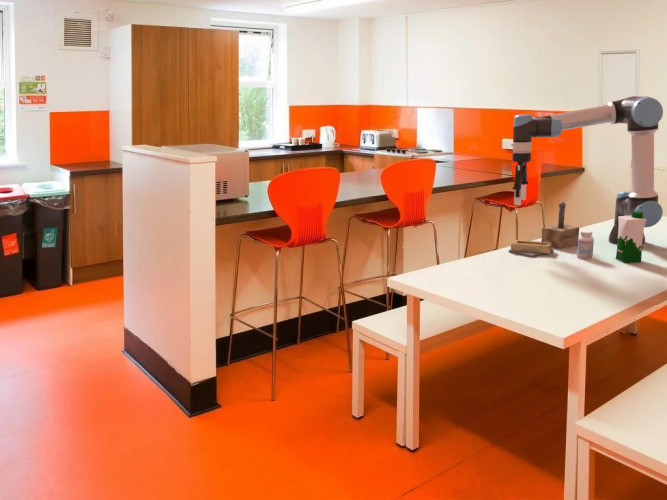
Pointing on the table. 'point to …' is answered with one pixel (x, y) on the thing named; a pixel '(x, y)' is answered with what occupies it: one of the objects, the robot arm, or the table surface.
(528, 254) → the rubber mat
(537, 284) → the table surface
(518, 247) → the golden brown rectangular frame
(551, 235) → the walnut stand
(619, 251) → the milk carton
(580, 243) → the pill bottle
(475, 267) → the table surface
